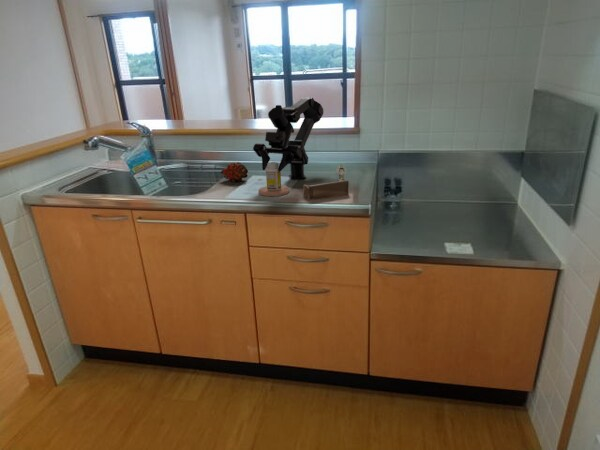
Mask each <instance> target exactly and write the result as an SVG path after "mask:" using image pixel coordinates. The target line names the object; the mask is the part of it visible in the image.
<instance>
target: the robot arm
mask: <svg viewBox="0 0 600 450" xmlns="http://www.w3.org/2000/svg"><path fill="white" fill-rule="evenodd" d="M302 114H303V120H302V123H301V125H300V127H299V130H298V131H297V134H296V135H295V138H294V140H290V138H291V135H292V133H295V130H294V127H293V126H294V125H293V124H296V123H298V122H299V120H300V119H301V115H302ZM267 115H268V116H267V117H268V118H269V120H270V121H271V123H272V125H273V127H274V128H276V130H275V131H276V132H275V131H266V132H265V140H264V141H265V142H268V145H269V146H270V147H267V146H266V144H265V143H254V145H253V148H252V151H254V153H255V154H256V156H258V157H259V158H261V167H262V170H263V171H266V169H267V168H268V166H267V163H270V160H271V157H270V156H269V154H274V155H275V154H277V155H278V154H279V155H282V157H281V160H280V163H279V164H278V167H279V169H278V171H279V172H280V173H281V172H282V170H283V169H285V168H286V166H288V165H289V166H290V167H289V168H290V174H289V175H288V177H289V178H290V180H300V179H303V180H304V179H307V176H306V175H305V170H304V169H305V167H304V166H305V165H308V163H309V157H308V154H307V153H306V148H305V146H306V144H307V142H308V139H309V137H310V134H311V132H312V129H313V127H314V125H315V124H317V123H318V122H319V121H321V119H322V117H323V116H324V107H323V106H322V104H321V103H320V102H318V101H316V100H315V99H314V98H313V97H311V96H304V97H301V98H300V99H299V100H298V101H297V102H295V103H293V104H291V106H284V107H282V105H280V104H277V105H276V104H275V107H272V108H271V109H270V110H269V111H268V113H267Z"/></svg>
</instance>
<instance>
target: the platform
mask: <svg viewBox="0 0 600 450" xmlns="http://www.w3.org/2000/svg"><path fill="white" fill-rule="evenodd" d="M342 170H343V171H342ZM345 174H347V168H346V167H345V166H344V164H339V165H338V166H337V167H336V175H338V180H340V179H341V180H344V175H345Z"/></svg>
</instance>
